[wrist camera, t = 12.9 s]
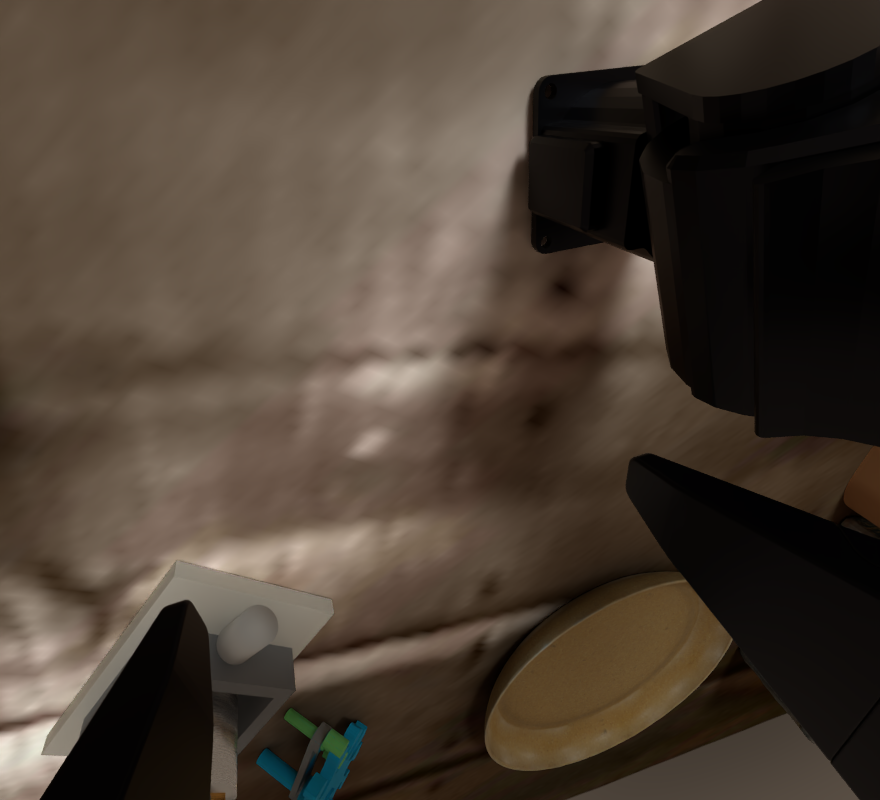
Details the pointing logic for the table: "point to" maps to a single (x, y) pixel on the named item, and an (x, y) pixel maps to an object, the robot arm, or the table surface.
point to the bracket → (866, 488)
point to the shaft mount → (216, 646)
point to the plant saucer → (601, 671)
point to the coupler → (224, 746)
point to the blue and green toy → (318, 790)
